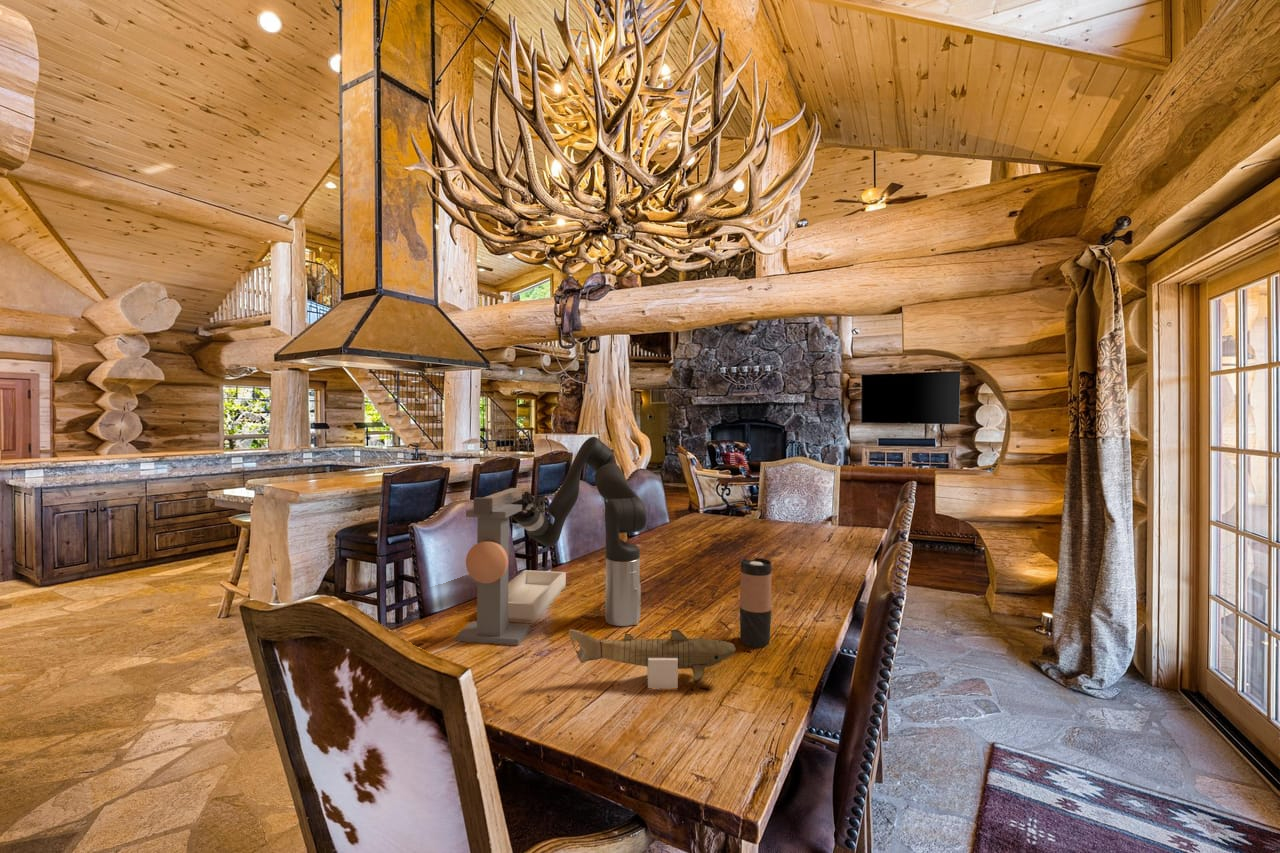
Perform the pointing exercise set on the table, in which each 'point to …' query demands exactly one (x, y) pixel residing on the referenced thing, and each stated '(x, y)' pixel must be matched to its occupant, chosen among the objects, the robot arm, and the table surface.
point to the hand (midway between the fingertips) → (510, 494)
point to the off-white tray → (533, 594)
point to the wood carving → (656, 654)
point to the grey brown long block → (496, 501)
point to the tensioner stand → (492, 580)
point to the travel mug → (755, 602)
